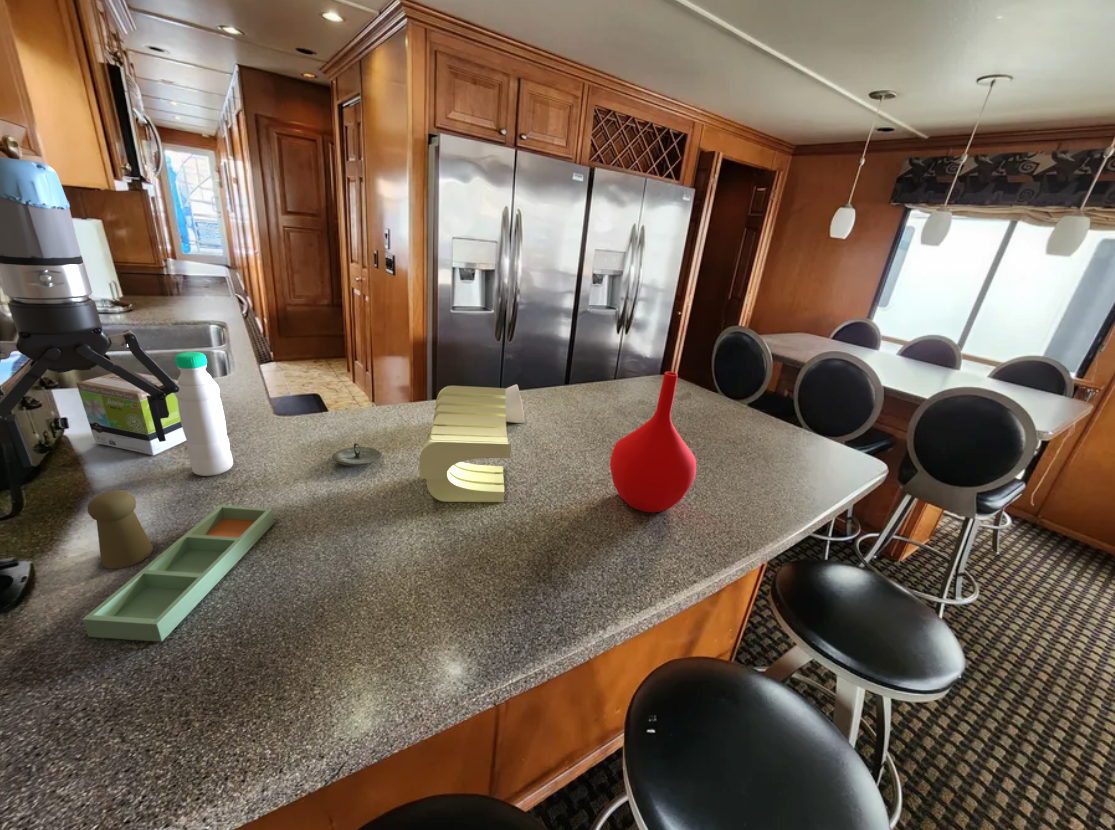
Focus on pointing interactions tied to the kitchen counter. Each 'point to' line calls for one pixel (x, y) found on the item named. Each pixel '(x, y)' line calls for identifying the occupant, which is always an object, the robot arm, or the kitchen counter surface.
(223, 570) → the compartment tray
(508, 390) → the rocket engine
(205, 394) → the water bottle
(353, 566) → the kitchen counter surface
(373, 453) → the lid
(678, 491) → the vase
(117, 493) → the cork
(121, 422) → the tea box
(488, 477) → the slatted curved stool
